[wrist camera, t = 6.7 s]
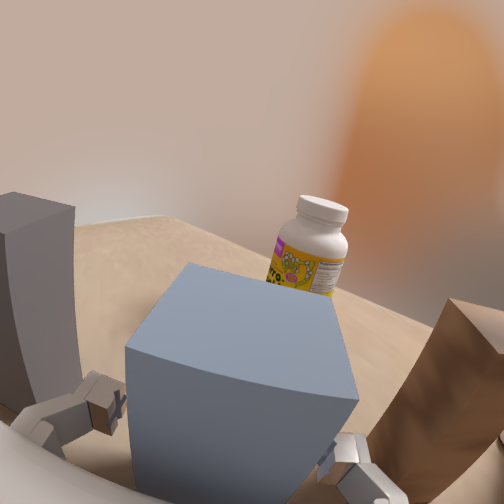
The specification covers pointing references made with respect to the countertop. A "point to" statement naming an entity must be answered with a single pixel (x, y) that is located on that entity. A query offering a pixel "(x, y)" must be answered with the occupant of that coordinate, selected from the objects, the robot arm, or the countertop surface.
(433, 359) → the walnut block
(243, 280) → the slate-blue block
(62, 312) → the charcoal block
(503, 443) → the robot arm
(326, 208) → the supplement bottle
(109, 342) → the countertop surface
